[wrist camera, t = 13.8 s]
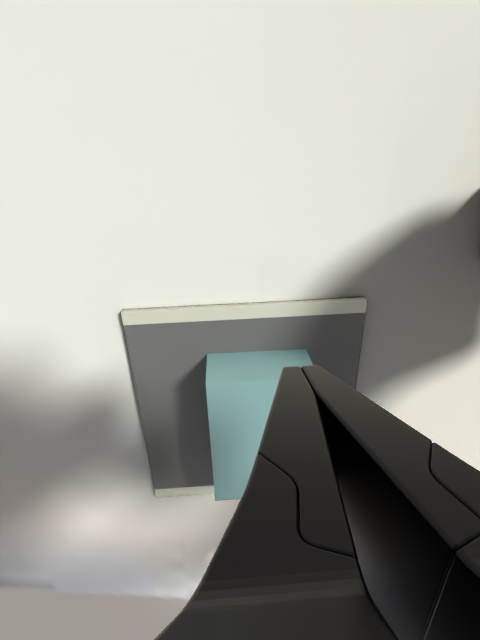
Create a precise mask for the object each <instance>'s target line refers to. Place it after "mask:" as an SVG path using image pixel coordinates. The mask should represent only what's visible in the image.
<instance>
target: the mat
mask: <svg viewBox="0 0 480 640" xmlns="http://www.w3.org/2000/svg"><path fill="white" fill-rule="evenodd" d="M366 307H367V299H366V298H365V297H356V298H336V299H316V300H296V301H277V302H257V303H237V304H218V305H198V306H178V307H159V308H139V309H123V310H122V311H121V316H122V321H123V326H124V331H125V336H126V341H127V347H128V352H129V357H130V363H131V368H132V373H133V378H134V384H135V389H136V394H137V400H138V405H139V410H140V415H141V421H142V426H143V431H144V437H145V442H146V447H147V452H148V458H149V463H150V468H151V474H152V479H153V484H154V490H155V496H156V497H168V496H182V495H196V494H210V493H215V492H214V480H213V468H212V456H211V443H210V431H209V419H208V406H207V394H206V366H207V354H217V353H236V352H255V351H275V350H294V349H306V350H307V352H308V354H309V357H310V359H311V361H312V364H313V365H318V366H320V367H321V368H323V369H324V370H326V371H327V372H329V373H330V374H332V375H333V376H335V377H336V378H338V379H339V380H341V381H342V382H344V383H346V384H347V385H349V386H350V387H352V388H353V389H355V388H356V380H357V373H358V365H359V358H360V350H361V342H362V335H363V327H364V320H365V313H366Z"/></svg>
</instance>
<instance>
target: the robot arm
mask: <svg viewBox="0 0 480 640" xmlns="http://www.w3.org/2000/svg"><path fill="white" fill-rule="evenodd" d="M154 640H480V471H478V470H477V469H475V468H474V467H472V466H470V465H469V464H467V463H466V462H464V461H463V460H461V459H459V458H458V457H456V456H455V455H453V454H452V453H450V452H449V451H447V450H445V449H444V448H442V447H441V446H439V445H438V444H436V443H432V441H431V440H430V439H429V438H427V437H426V436H424V435H423V434H421V433H420V432H418V431H417V430H415V429H414V428H412V427H411V426H409V425H407V424H406V423H404V422H403V421H401V420H400V419H398V418H397V417H395V416H394V415H392V414H391V413H389V412H388V411H386V410H385V409H383V408H382V407H380V406H379V405H377V404H376V403H374V402H373V401H371V400H370V399H368V398H367V397H365V396H364V395H362V394H361V393H359V392H358V391H356V390H355V389H353V388H352V387H350V386H349V385H347V384H346V383H344V382H342V381H341V380H339V379H338V378H336V377H335V376H333V375H332V374H330V373H329V372H327V371H326V370H324V369H323V368H321V367H320V366H318V365H306V366H302V367H301V368H300V367H299V366H289V367H283V369H282V372H281V375H280V379H279V382H278V385H277V389H276V392H275V395H274V399H273V402H272V405H271V409H270V412H269V416H268V419H267V422H266V426H265V429H264V432H263V436H262V439H261V442H260V446H259V449H258V453H257V456H256V458H255V462H254V465H253V468H252V471H251V474H250V477H249V480H248V483H247V486H246V488H245V491H244V493H243V495H242V498H241V500H240V502H239V504H238V507H237V509H236V511H235V513H234V515H233V517H232V519H231V521H230V523H229V525H228V527H227V529H226V532H225V534H224V536H223V538H222V540H221V542H220V544H219V546H218V548H217V550H216V552H215V554H214V556H213V558H212V560H211V562H210V564H209V566H208V568H207V570H206V572H205V574H204V576H203V578H202V580H201V582H200V584H199V585H198V587H197V589H196V590H195V592H194V594H193V595H192V597H191V599H190V600H189V602H188V603H187V605H186V606H185V607H184V608H183V610H182V611H181V612H180V613H179V614H178V616H177V617H176V618H175V619H174V620H173V621H172V622H171V623H170V624H169V625H168V626H167V627H166V628H165V629H164V630H163V631H162V632H161V633H160V634H159V635H158V636H157V637H156V638H155V639H154Z"/></svg>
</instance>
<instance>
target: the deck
mask: <svg viewBox="0 0 480 640" xmlns="http://www.w3.org/2000/svg"><path fill="white" fill-rule="evenodd" d="M306 365H313V364H312V361H311V359H310V357H309V354H308V352H307V350H306V349H294V350H275V351H255V352H236V353H217V354H207V366H206V394H207V406H208V419H209V431H210V443H211V456H212V468H213V480H214V492H215V501H216V500H231V499H241V498H242V495H243V493H244V491H245V488H246V486H247V483H248V480H249V477H250V474H251V471H252V468H253V465H254V462H255V458H256V456H257V453H258V449H259V446H260V442H261V439H262V436H263V432H264V429H265V426H266V422H267V419H268V416H269V412H270V409H271V405H272V402H273V399H274V395H275V392H276V389H277V385H278V382H279V379H280V375H281V372H282V369H283V367H289V366H299V367H300V368H301V367H302V366H306Z"/></svg>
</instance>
